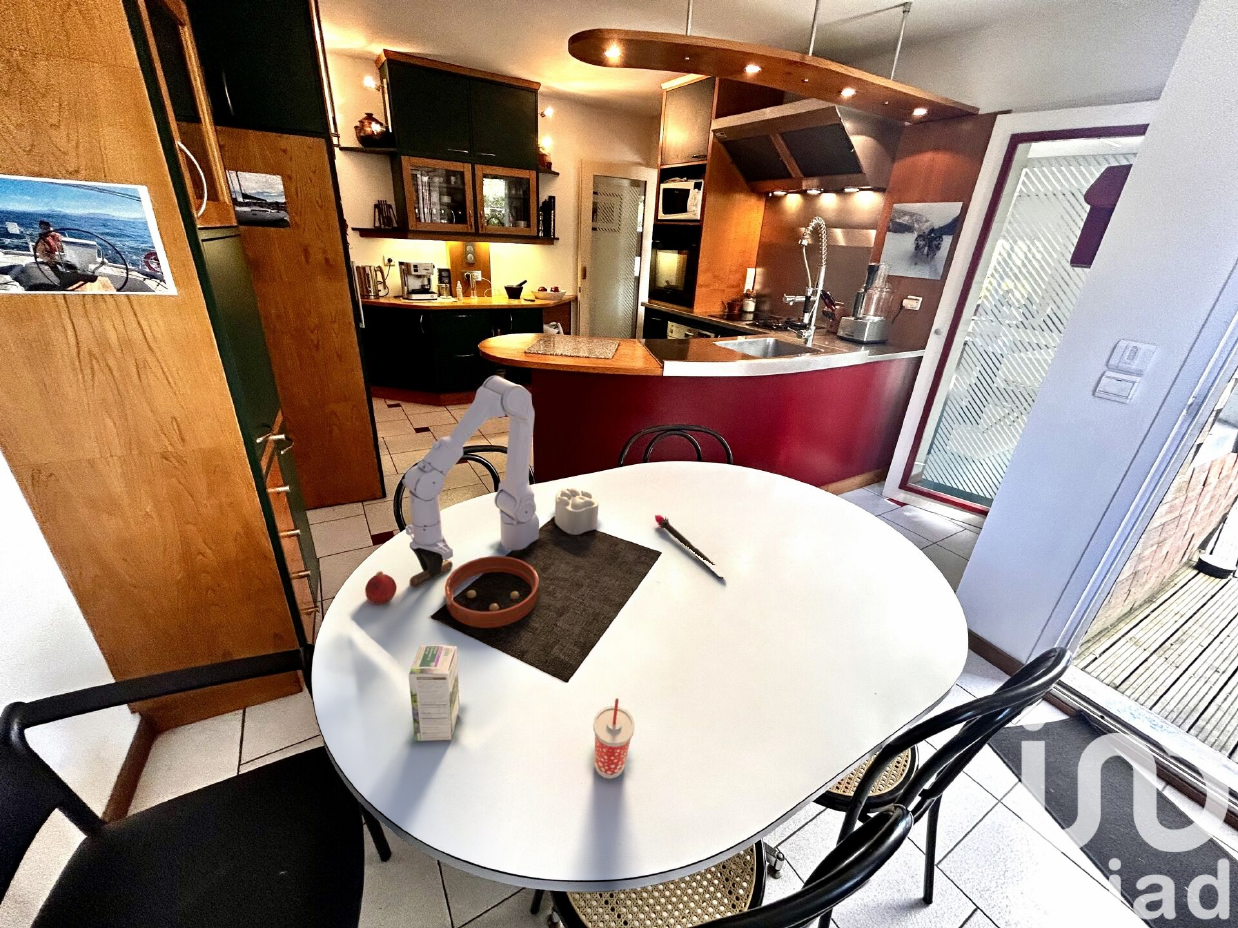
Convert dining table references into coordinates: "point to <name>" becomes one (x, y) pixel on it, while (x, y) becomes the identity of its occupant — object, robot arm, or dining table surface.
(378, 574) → the red round piece
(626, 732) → the beverage cup
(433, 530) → the robot arm
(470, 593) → the bead
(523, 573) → the bowl
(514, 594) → the bead
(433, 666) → the syrup box
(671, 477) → the dining table surface
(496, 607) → the bead
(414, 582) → the stick
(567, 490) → the lumpy-topped squat cylinder
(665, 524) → the wand
